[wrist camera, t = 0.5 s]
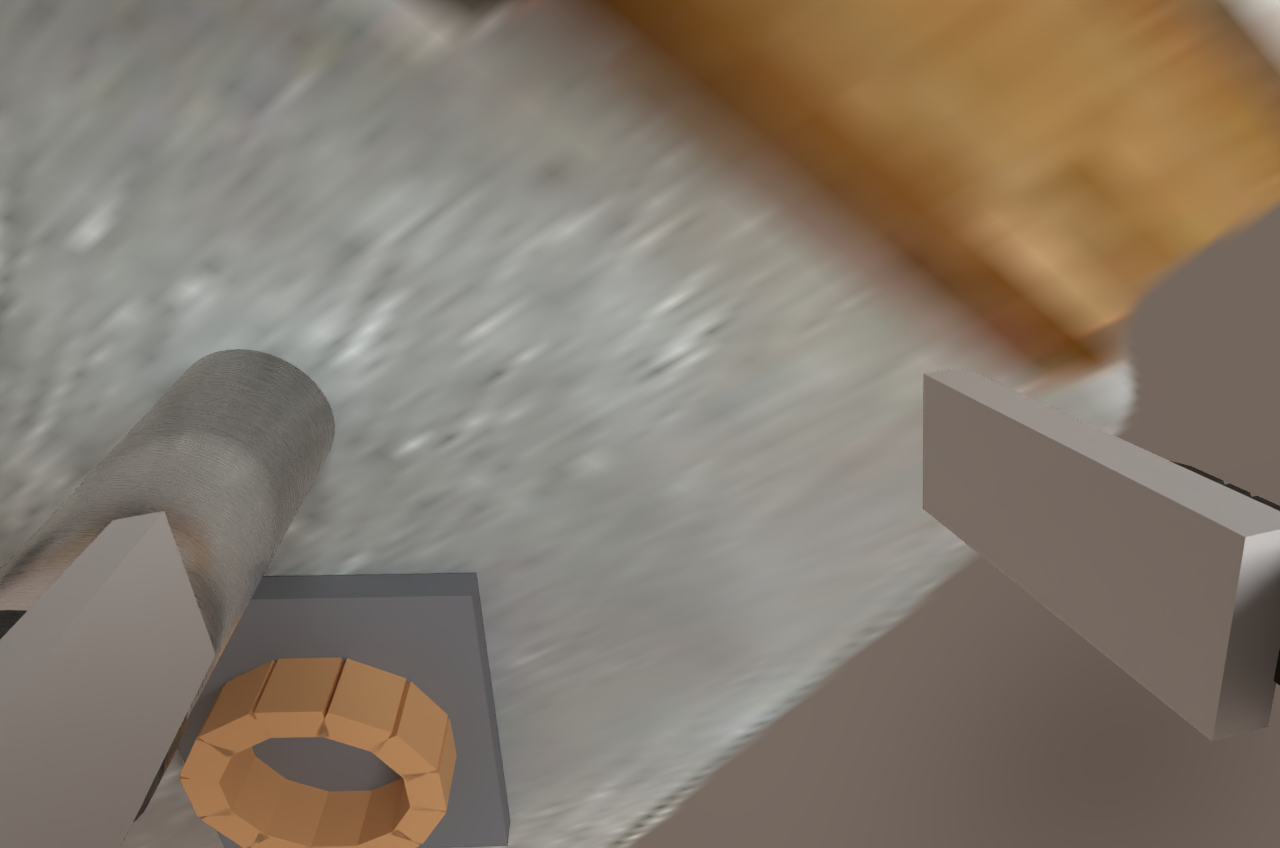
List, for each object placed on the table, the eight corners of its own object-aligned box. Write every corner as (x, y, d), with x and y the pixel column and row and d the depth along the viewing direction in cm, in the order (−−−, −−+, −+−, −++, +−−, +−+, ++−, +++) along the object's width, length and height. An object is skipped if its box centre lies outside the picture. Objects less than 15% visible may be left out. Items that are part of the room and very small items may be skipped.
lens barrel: (152, 347, 25) (-252, 726, 13) (320, 345, 26) (66, 718, 14) (199, 481, 28) (-102, 894, 16) (350, 479, 28) (162, 887, 16)
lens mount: (127, 579, 30) (71, 655, 27) (476, 573, 31) (460, 647, 28) (237, 828, 39) (204, 908, 36) (510, 821, 39) (501, 900, 36)
